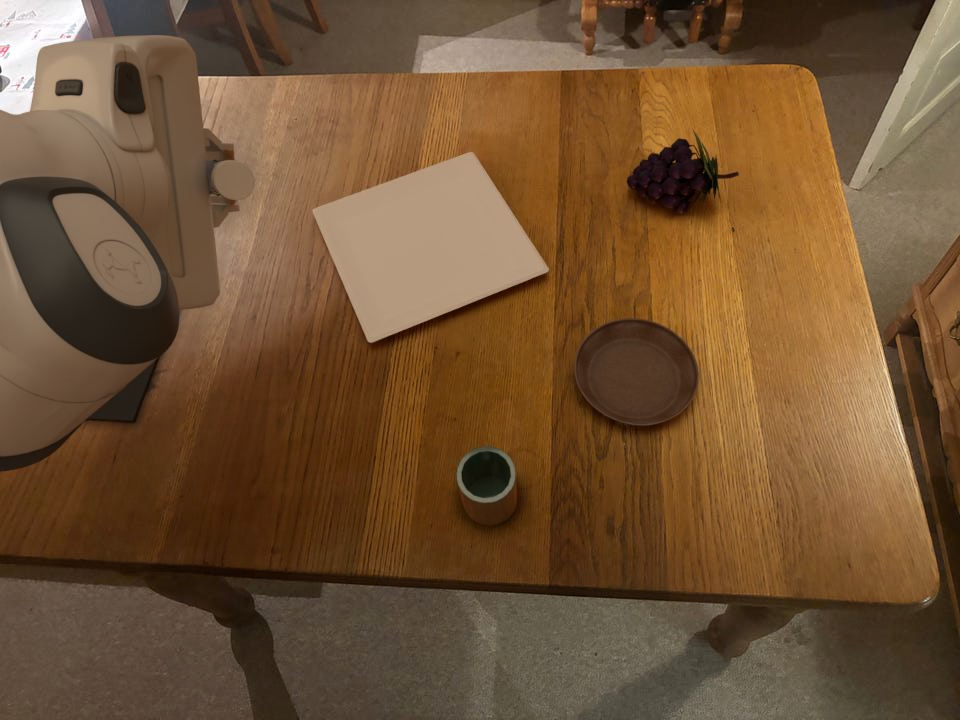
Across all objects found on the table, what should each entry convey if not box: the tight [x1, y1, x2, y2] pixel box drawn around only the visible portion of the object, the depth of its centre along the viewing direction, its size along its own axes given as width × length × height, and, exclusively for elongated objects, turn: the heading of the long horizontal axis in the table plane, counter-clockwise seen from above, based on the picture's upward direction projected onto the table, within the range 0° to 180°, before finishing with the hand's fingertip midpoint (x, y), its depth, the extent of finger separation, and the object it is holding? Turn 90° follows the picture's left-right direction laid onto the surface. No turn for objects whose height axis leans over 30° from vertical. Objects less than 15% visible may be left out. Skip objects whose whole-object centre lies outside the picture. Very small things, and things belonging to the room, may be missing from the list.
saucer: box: [573, 317, 700, 426], centre depth 81 cm, size 15×15×3 cm
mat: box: [85, 356, 161, 423], centre depth 89 cm, size 20×12×1 cm, turn 175°
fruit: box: [626, 129, 740, 214], centre depth 92 cm, size 10×11×15 cm
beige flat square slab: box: [311, 151, 550, 344], centre depth 94 cm, size 26×26×2 cm
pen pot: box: [455, 445, 518, 527], centre depth 72 cm, size 6×6×8 cm
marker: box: [207, 160, 256, 201], centre depth 58 cm, size 3×3×17 cm
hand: (230, 177), depth 57 cm, fingers closed on marker, 3 cm apart
